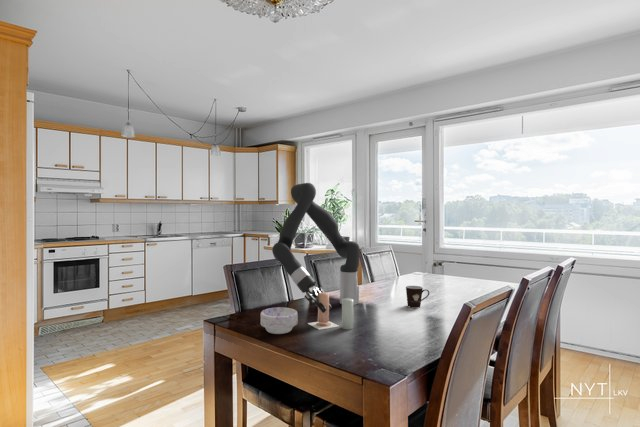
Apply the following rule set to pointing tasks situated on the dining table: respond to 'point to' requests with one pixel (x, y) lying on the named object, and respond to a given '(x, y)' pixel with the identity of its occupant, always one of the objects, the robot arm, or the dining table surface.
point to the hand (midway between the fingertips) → (327, 309)
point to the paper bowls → (279, 319)
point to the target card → (323, 325)
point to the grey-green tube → (347, 313)
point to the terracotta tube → (325, 301)
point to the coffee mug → (415, 295)
